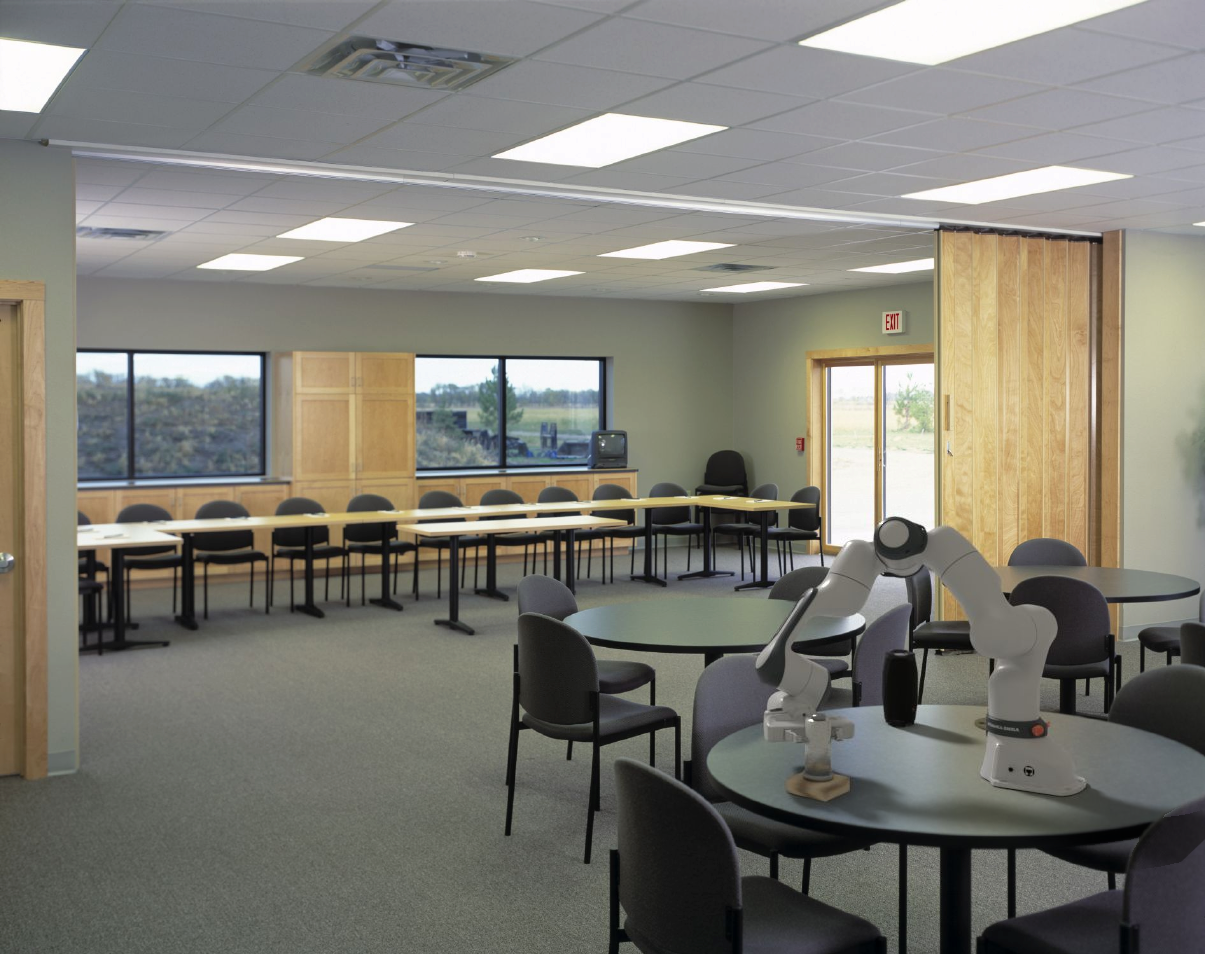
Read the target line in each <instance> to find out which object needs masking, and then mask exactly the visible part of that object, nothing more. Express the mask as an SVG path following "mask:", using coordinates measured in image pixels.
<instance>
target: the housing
mask: <svg viewBox="0 0 1205 954" xmlns="http://www.w3.org/2000/svg"><path fill="white" fill-rule="evenodd" d="M826 716H827V715H826V714H825V713H820V712H817V713H813V714H811V717H807V718H805V743H804V765H805V766H804V769H803V771H802V772H803V778H804V779H805V780H807V781H811V782H829V781H832V780H833V774H834V771H832V740H831V719H830V718H827V717H826Z"/></svg>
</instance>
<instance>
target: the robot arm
mask: <svg viewBox="0 0 1205 954" xmlns="http://www.w3.org/2000/svg"><path fill="white" fill-rule="evenodd" d="M925 566H926V567H928V568H929V569H930V570H931V571H932V572H934V573H935V575H936V576H937V577H938V579H940V581H941V583H942V584H943V585H944V586H945V587H946V589H947V590H948V591H949V593H950V594H951V595H952V596H953V597H954V599H955V600H956V602H958V603H959V605H960V607H961V608H962V610H963V612H964V614H965V616H966V618H967V620H968V624H969V626H970V628H969V629H970V630H969V640H970V643H971V646H972V647H973V649H974V651H975V652H976V653H977V654H979V655H980V656H982V657H984V658H987V659H994V660H997V663H996V665H995V668H994V670H993V671H992V673H991V674H990V676H989V679H988V689H987V690H988V691H987V692H988V693H987V697H988V698H987V700H988V701H987V702H988V703H987V709H988V713H987V712H986V714H985V718H986V730H985V737H986V746H985V752H984V757H983V758H984V759H983V763H982V766H981V769H980V771H979V775H980V776H981V777H982V778H983V779H985V780H987V781H988V782H989V783H990V784H991V785H992V786H993V787H994V786H995V787H999V788H1006V789H1007V788H1008V789H1014V790H1019V791H1026V792H1032V793H1037V794H1038V793H1040V794H1045V795H1050V796H1051V795H1053V796H1059V797H1064V796H1071V795H1075V794H1078V793H1080V792H1082V791H1084V789H1085V788H1086V786H1087V781H1086V779H1085V778H1084V777H1083V776H1079V775H1077V773H1076V767H1075V762H1074V759H1073V756H1072V755H1071V754H1070V753H1069V752H1068V751H1067V750H1065V748H1063V747H1062V746H1061V745H1059V744H1058V743H1057V742H1056V741H1055V740H1054V739H1053V738H1051V736H1050V735H1048V733H1049V732H1048V731H1049V729H1048V728H1050V727H1051V725H1050V724H1051V721H1048V722H1046V721H1045V720H1044V719H1043V718H1042V717H1041V716H1040V707H1041V706H1040V704H1041V703H1040V702H1041V697H1040V696H1041V684H1042V683H1041V681H1042V676H1043V673H1044V669H1045V664H1046V661H1047V656H1048V653H1049V649H1050V647H1051V645H1052V643H1053V642H1054V640H1055V639H1056V637H1057V634H1058V628H1059V627H1058V622H1057V619H1056V617H1055V615H1054V614H1053V613H1052V612H1051V611H1050V610H1049V609H1048V608H1046V607H1044V606H1040V605H1036V604H1030V603H1029V604H1019V605H1015V606H1014V605H1012V604H1010V602H1009V601H1008V600H1007V598H1006V597H1005V594H1004V592H1003V590H1002V578H1001V577H1000V575H999V573H998V572H997V571H996V570H995V569H994V568H993V566H992V565H991V564H990V563H989V562H988V560H987V559H986V558H985V557H984V556H983V555H982V554H981V552H980V551H979V550H978V549H977V548H976V546H974V545H973V544H972V542H970V541H969V539H967V538H966V537H965V536H964V535H963V534H961V533H960V532H959V531H958V530H957V529H955V528H954V527H952V526H949V525H939V526H936V527H934V528H932V529H931V530H929V531H927V529H926V527H925V526H924V525H923V524H919V523H917V522H914V521H911V520H909V519H908V518H904V517H901V516H895V515H894V516H889V517H886V518H884V519H882V520H881V521H880V522H879V523H878V524H877V525H876V527H875V529H874V533H873V539H872V541H866V540H864V539H850V540H849V541H847V542H846V543H845V544H843V546H842V547H841V549H840V550H839V551H838V554H837V555H836V557H835V559H834V560H833V562H832V564H831V566H830V568H829V570H828V572H827V574H826V576H825V578H824V579H823V581H822V582H821V583H820V584H819V585H817V586H816V587H810V588H808V589H807V590H805V591H804V592H803V593H802V595H801V596H800V597H799V598H798V600H797V601H796V602H795V604H794V605H793V607H792V608H791V609H790V611H789V613H788V614H787V616H786V617H785V619H784V620H783V622H782V623H781V625H780V626H779V628H778V629H777V631H776V632H775V634H774V635H773V637H772V638H771V639H770V641H769V642H768V643H767V645H766V646H765V647H764V648H763V649H762V651H761V652H760V654H759V655H758V656H757V659H756V661H755V664H754V669H755V670H754V671H755V673H756V677H757V678H758V680H759V682H760V683H761V684H763V685H765V686H768V687H770V688H774V689H777V690H779V691H776V692H774V693H773V694H772V695H770V697H769V698H768V700H767V704H766V705H767V706H766V710H765V711H764V713H763V737H764V740H766V741H767V742H768V743H769V742H770V743H784V742H785V743H786V742H792V743H794V744H805V718H807V717H811V714H813V713H819V711H820V710H822V708H823V707H824V706H825V704H826V703H827V701H828V700H829V697H830V696H831V691H832V679H831V674H830V672H829V670H828V669H827V668H826V667H824V666H822V665H820V664H819V663H817V662H815V661H813V660H811V659H808V658H807V657H805V656H802V655H800V654H799V653H796V652H794V651H793V650H792V646H793V644H794V643H795V641H796V639H797V638H798V637H799V635H800V633H801V632H802V630H803V629H804V627H805V625H806V623H807V622H808V621H809V620H810V619H812V618H815V617H831V618H849V617H853V616H855V615H856V614H858V613H859V612H861V610H862V609H863V608H864V606H865V605H866V603H867V600H868V598H869V595H870V594H871V591H872V588H873V586H874V585H875V582H876V580H877V578H878V577H879V575H880V576H881V577H885V578H897V579H910V578H913V577H915V576H917V575H919V574H920V573H921V571H922V570H923V569H924V567H925ZM826 717H827V718H830V719H831V741H833V740H834V741H835V742H844V740H846V739H847V740H851V739H853V738H854V737H855V733H856V729H855V728H856V726H855V722H853V721H852V720H851V719H848V718H846V717H844V716H839V715H830V716H829V715H828V716H827V715H826Z"/></svg>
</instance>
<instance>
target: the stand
mask: <svg viewBox="0 0 1205 954" xmlns="http://www.w3.org/2000/svg"><path fill="white" fill-rule="evenodd" d="M850 779H851V778H850V776H847V775H843V774H842V775H841V774H838V773H833V780H832V781H829V782H811V781H807V780H805V779H804V778H803V771H801V772H799V773H796V774H794V775H792V776H789V777H786V779H785V792H786V793H787V794H788V793H789V794H792V795H797V796H801V797H805V798H810V799H813V800H817V801H819V802H821V801H822V802H825V803H826V802H828V801H830V800H833V799H834V798H835V799H836V798H837V797H840V796H841V795H843V794H845V793H848V792H850V791H851V789H850V784H851V783H850V781H851V780H850Z"/></svg>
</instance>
